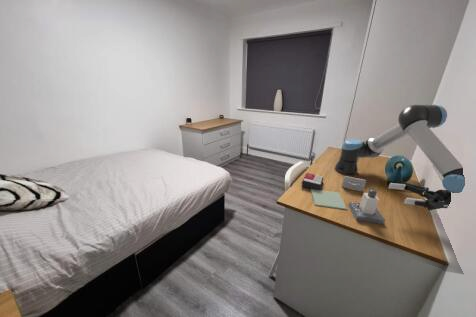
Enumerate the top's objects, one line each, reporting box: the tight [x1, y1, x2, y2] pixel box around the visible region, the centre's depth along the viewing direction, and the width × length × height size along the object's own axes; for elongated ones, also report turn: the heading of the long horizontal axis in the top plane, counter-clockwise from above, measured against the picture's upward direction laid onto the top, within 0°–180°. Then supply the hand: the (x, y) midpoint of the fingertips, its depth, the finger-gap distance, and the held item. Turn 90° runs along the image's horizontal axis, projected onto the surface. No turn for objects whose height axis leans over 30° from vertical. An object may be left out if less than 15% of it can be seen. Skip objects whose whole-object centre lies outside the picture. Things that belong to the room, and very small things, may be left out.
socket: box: [348, 201, 386, 225], centre depth 99 cm, size 12×12×2 cm
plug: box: [359, 188, 380, 215], centre depth 97 cm, size 5×5×14 cm
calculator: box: [301, 172, 324, 190], centre depth 126 cm, size 11×4×15 cm
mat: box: [310, 188, 348, 210], centre depth 111 cm, size 16×16×1 cm
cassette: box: [341, 175, 367, 192], centre depth 121 cm, size 12×2×8 cm, turn 66°
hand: (396, 192), depth 92 cm, fingers open, 13 cm apart
